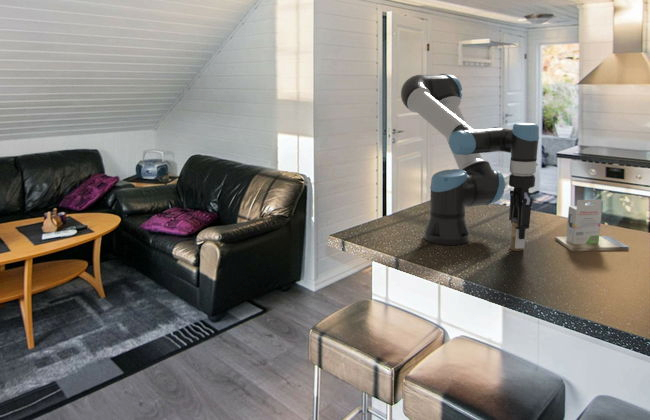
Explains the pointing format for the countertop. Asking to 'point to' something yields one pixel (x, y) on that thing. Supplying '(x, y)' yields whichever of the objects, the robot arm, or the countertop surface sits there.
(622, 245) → the plywood panel
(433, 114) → the robot arm
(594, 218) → the ink box
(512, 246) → the grey and tan cylinder
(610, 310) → the countertop surface
